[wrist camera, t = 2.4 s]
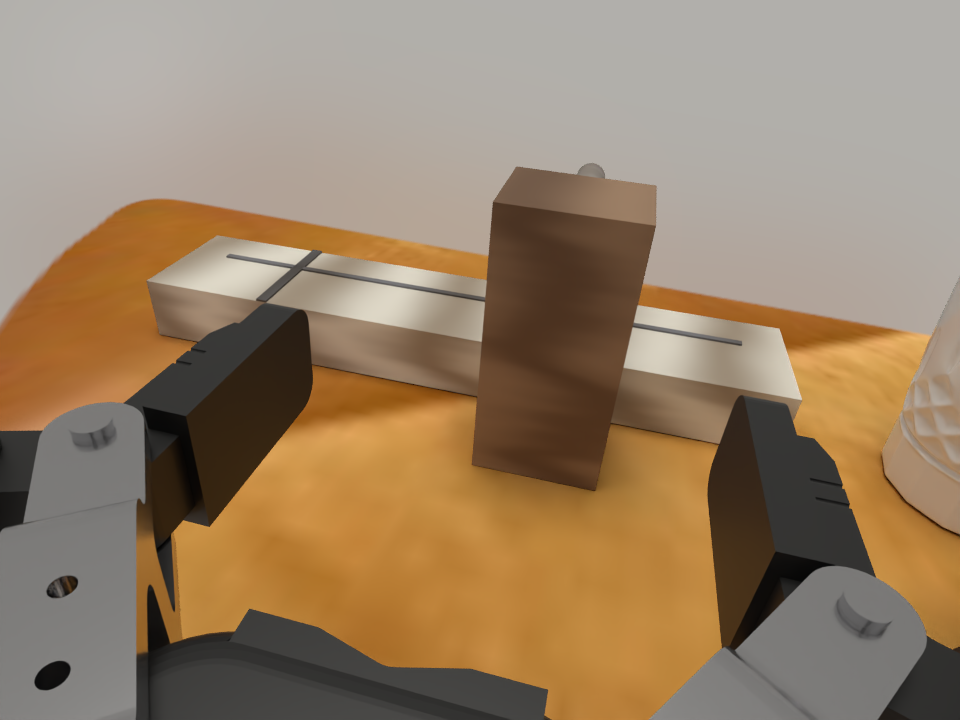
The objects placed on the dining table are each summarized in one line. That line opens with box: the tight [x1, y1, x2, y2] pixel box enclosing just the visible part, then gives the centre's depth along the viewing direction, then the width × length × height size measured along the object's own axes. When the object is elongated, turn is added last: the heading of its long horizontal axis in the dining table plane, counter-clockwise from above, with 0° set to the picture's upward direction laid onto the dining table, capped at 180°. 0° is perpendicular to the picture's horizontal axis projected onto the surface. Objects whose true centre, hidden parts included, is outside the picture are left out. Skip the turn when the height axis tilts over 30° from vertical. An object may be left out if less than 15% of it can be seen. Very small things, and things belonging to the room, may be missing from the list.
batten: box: [147, 236, 802, 444], centre depth 32 cm, size 30×6×3 cm, turn 77°
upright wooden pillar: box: [472, 163, 656, 491], centre depth 26 cm, size 5×9×11 cm, turn 167°
